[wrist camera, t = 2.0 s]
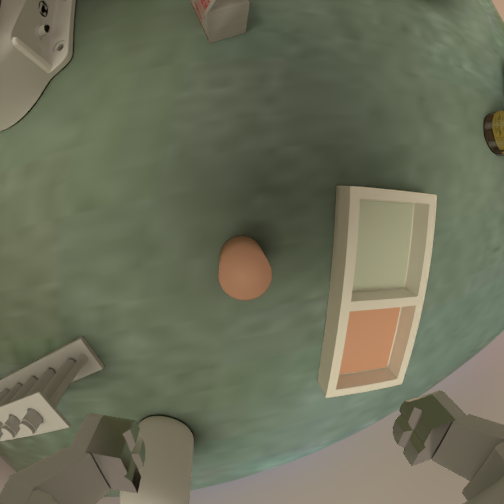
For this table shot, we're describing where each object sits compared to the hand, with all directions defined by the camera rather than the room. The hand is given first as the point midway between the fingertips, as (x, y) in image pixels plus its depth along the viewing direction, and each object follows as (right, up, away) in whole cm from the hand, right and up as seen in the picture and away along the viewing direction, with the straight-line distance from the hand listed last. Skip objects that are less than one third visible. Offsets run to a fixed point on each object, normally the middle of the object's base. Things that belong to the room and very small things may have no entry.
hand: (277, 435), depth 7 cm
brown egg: (-2, +5, +21) cm, 22 cm away
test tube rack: (-30, -12, +22) cm, 39 cm away
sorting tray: (+12, +1, +23) cm, 26 cm away
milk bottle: (-12, -18, +25) cm, 34 cm away
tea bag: (-4, +29, +15) cm, 33 cm away
